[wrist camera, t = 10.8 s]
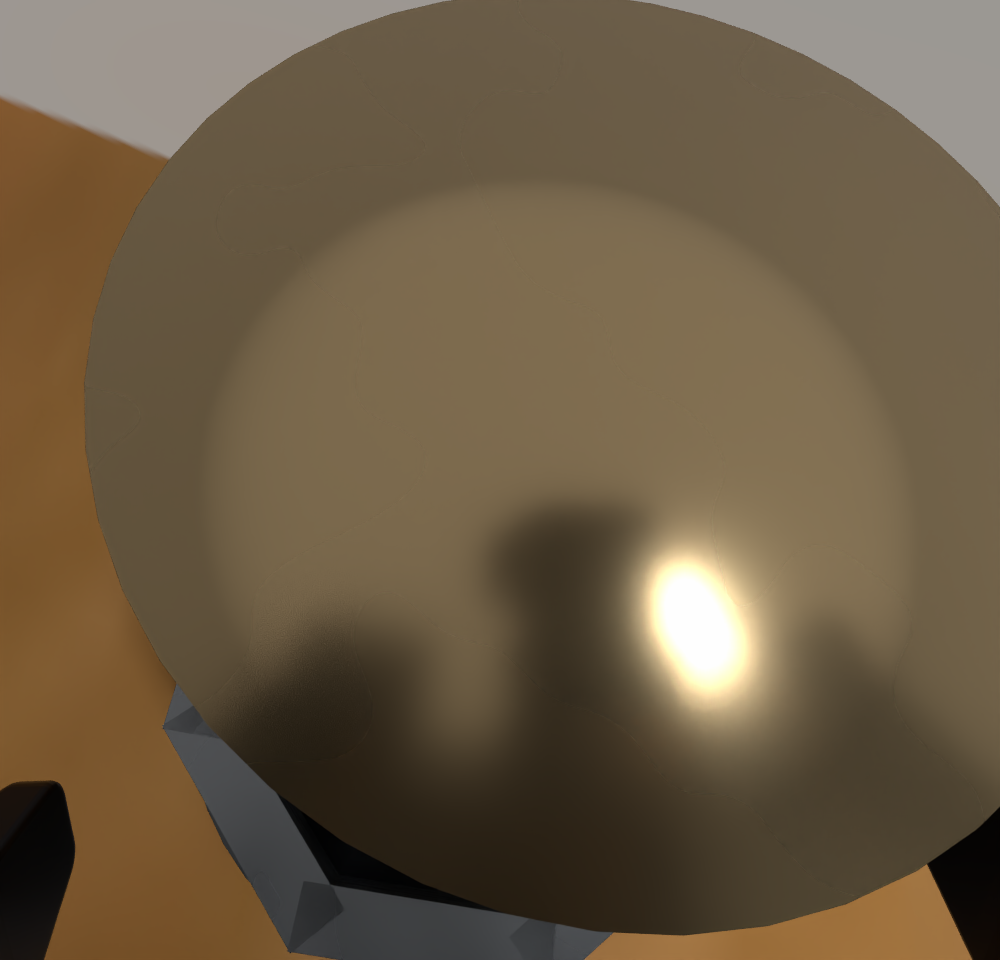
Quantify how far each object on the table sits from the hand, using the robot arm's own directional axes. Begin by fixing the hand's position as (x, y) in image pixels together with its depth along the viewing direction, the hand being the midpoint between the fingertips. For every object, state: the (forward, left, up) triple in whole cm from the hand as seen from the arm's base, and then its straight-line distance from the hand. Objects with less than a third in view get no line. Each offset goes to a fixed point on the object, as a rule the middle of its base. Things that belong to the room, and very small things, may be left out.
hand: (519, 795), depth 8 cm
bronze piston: (+2, -1, -7) cm, 8 cm away
